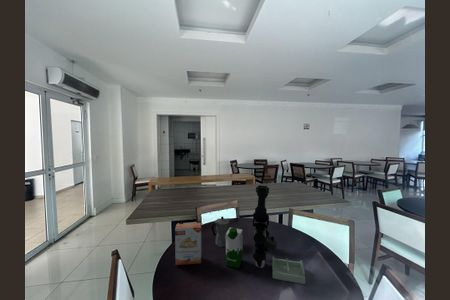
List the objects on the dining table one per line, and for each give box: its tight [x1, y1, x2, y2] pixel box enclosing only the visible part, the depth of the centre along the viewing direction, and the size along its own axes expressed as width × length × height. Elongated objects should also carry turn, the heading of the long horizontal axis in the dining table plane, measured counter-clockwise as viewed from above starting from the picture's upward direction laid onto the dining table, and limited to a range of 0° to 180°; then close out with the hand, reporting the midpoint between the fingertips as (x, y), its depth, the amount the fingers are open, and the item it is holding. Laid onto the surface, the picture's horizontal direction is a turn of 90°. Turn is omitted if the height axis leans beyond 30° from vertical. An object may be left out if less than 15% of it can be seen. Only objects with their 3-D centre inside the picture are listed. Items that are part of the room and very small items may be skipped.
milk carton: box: [225, 227, 244, 269], centre depth 101 cm, size 9×9×20 cm
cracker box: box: [174, 222, 202, 266], centre depth 102 cm, size 14×6×21 cm, turn 97°
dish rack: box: [271, 256, 306, 285], centre depth 93 cm, size 15×11×5 cm
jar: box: [255, 260, 266, 269], centre depth 99 cm, size 5×5×7 cm
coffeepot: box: [210, 216, 231, 248], centre depth 119 cm, size 15×9×18 cm, turn 129°
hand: (260, 261), depth 100 cm, fingers open, 9 cm apart
